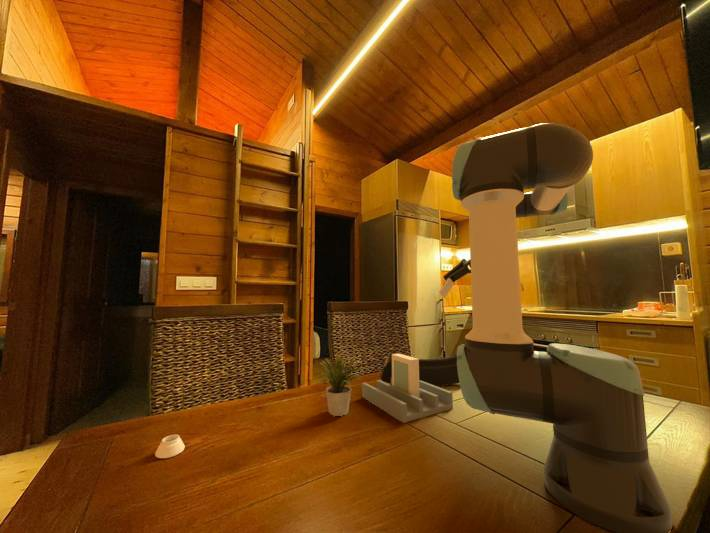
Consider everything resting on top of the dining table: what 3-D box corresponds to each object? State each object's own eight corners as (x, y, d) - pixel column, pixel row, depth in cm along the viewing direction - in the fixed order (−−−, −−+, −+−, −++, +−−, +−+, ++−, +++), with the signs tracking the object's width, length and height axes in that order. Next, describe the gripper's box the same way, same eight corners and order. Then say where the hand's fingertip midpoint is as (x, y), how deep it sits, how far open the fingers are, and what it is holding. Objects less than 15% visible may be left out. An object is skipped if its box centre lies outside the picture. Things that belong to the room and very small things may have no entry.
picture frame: (399, 392, 89) (399, 353, 90) (419, 401, 81) (418, 359, 83) (391, 394, 88) (391, 354, 89) (411, 403, 80) (410, 360, 81)
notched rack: (406, 388, 97) (406, 374, 98) (452, 408, 80) (452, 392, 81) (362, 397, 88) (362, 383, 89) (403, 423, 71) (403, 404, 72)
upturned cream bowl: (174, 444, 61) (149, 456, 57) (175, 430, 62) (150, 441, 57) (189, 449, 59) (165, 462, 55) (190, 435, 60) (166, 446, 55)
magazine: (468, 358, 104) (391, 334, 103) (472, 360, 101) (393, 335, 100) (457, 404, 102) (378, 381, 102) (460, 408, 99) (379, 384, 98)
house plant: (339, 432, 66) (339, 361, 68) (299, 417, 75) (300, 353, 76) (373, 412, 78) (372, 351, 79) (335, 400, 86) (335, 346, 88)
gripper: (531, 253, 85) (505, 304, 76) (462, 262, 106) (434, 302, 97) (520, 234, 83) (492, 283, 74) (452, 247, 104) (423, 286, 95)
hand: (459, 294), depth 85 cm, fingers open, 13 cm apart
